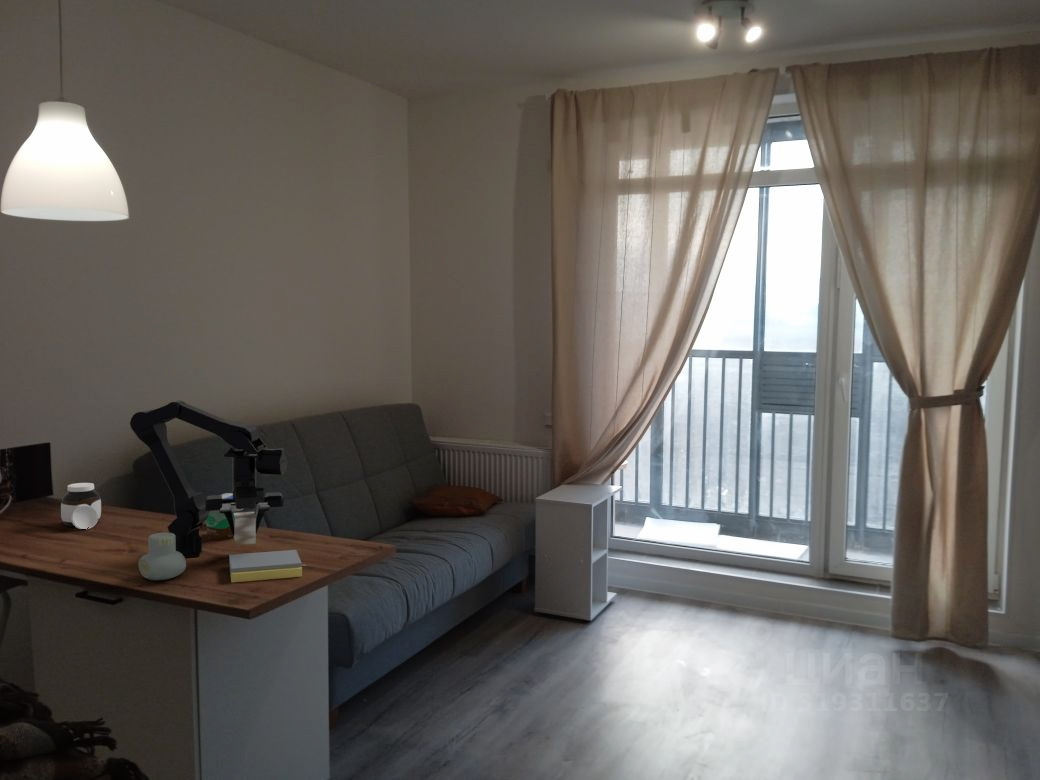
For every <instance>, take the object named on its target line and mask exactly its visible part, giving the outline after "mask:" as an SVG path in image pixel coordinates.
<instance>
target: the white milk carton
mask: <svg viewBox="0 0 1040 780" xmlns="http://www.w3.org/2000/svg"><path fill="white" fill-rule="evenodd" d="M256 535H257V534H256V513H255V511H247V512H246V511H243V512H242V511H241V513H234V545H235V546H238V545H239V546H241V545H253V544H254V545H255V544H257V542H256V541H257V537H256Z"/></svg>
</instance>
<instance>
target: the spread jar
mask: <svg viewBox="0 0 1040 780" xmlns="http://www.w3.org/2000/svg"><path fill="white" fill-rule="evenodd" d="M101 515H102V499H101V496H100V494H98V492H97V491H96V490H95V484H94V483H92V482H78V483H70V484H68V485H67V492H66V493H65V494H64V495H63V497H62V499H61V503H60V517H61V520H62V522H63V523H64V524H65V525H66V526H68V527H69V526H75V527H74V528H77V529H79V530H81V529H86V530H89V529H92V528H94V526H96V524H97V522H98V521H99V520H100V518H101ZM88 527H89V528H88ZM87 528H88V529H87Z"/></svg>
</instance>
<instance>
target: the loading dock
mask: <svg viewBox="0 0 1040 780" xmlns="http://www.w3.org/2000/svg"><path fill="white" fill-rule="evenodd" d="M228 556H229V557H228V559H229V560H228V562H229V563H228V564H229V567H228V568H229V573H230V574H229V576H230V582H231V583H243V582H252V581H254V582H255V581H265V580H275V579H276V580H277V579H288V578H300V577H303V565H302V564H303V563H302V560H301V558H300V555H299V553H298V551H297V549H288V550H287V549H286V550H275V551H263V552H262V551H260V552H249V553H236V554H235V553H233V554H232V553H231V554H229V555H228Z"/></svg>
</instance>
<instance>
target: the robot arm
mask: <svg viewBox="0 0 1040 780" xmlns="http://www.w3.org/2000/svg"><path fill="white" fill-rule="evenodd" d="M175 419H178V420H180V421H182V422H185V423H188V424H191V425H192V426H194V427H198V428H200V429H202V430H205V431H207V432H209V433H212V434H214V435H217V437H219V438H220V439H221V440H222V441H224V443H226V444H227V445H230V446H231V447H230V448H229V449H228V450H227V451H226V452H225V453H224V454H223V457H224V458H232V493H233V498H224V499H222V494H217V495H215V494H214V495H205V493H204V492H203V491H201V492H196V491H195V490H194V489H193V488H192V487H191V484H190V483H189V481H188V479H187V477H186V474H185V472H184V470H183V469H182V466H181V465H180V462H179V460H178V458H177V456H176V454H175V452H174V451H173V449H172V446H171V444H170V443H169V441H168V428H167V427H168V426H167V425H166V423H167V422H170V421H173V420H175ZM129 425H130V429H131V430H132V432H133V433H134V434H135V436H136V437H137V438H138V439H139V441H141V442H142V443H143V444H144V445H145V446H147V447H148V449H149V450H150V453H151V454H152V456H153V458H154V460H155V463H156V465H157V466H158V468H159V471H160V472H161V474H162V477H163V479H164V481H165V483H166V485H167V487H168V488H169V491H170V492H171V495H172V496H173V507H174V508H173V511H174V514H175V517H176V518H175V519H174V520H173V521H172V522H171V523H170V524H168V526H167V531H168V533H173V534H174V535H175V539H176V551H178V552H180V553H181V554H182V555H183V556H184V558H192V557H193V558H194V557H200V555H201V553H202V551H203V547H202V545H203V543H202V542H203V540H202V539H203V537H202V534H201V533H200V528H202V526H203V524H204V522H206V519H207V518H208V516H209V513H210V511H215V510H219V513H224V515H225V516H226V518H227V520H228V523H229V525H230V528H231V531H232V534H233V535H234V523H233V517H232V510H231V506H232V505H236V508H237V509H243V510H244V509H249V510H250V509H252V510H253V509H255V508H256V510H255V517H256V535H257V533H258V530H259V528H260V525H261V521H262V519H263V517H264V515H265V513H266V512H267V511H271V508H283V507H284V496H283V495H282V493H281V492H279V491H276V492H275V491H274V492H265V488H264V487H257V473H259V474H260V475H261V476H285V474H286V473H287V469H288V459H287V456H286V454H285V449H284V448H268V446H267V445H266V444H265V442H264V441H263V440H262V438H261V437H260V435H259V430H258V428H257V427H256V426H255V425H254V424H251V423H246V422H242V421H235V420H229V419H225V418H222V417H220V416H218V415H215V414H213V413H210V412H208V411H206V410H203V409H201V408H198V407H196V406H194V405H191V404H188V403H186V402H185V401H183V400H175V401H171V402H168V404H166V405H165V404H164V405H163V406H161V407H158V408H155V409H151V408H150V409H147V410H142V411H138V412H136V413H134V414H133V415H132V416H131V418H130V421H129Z"/></svg>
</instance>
